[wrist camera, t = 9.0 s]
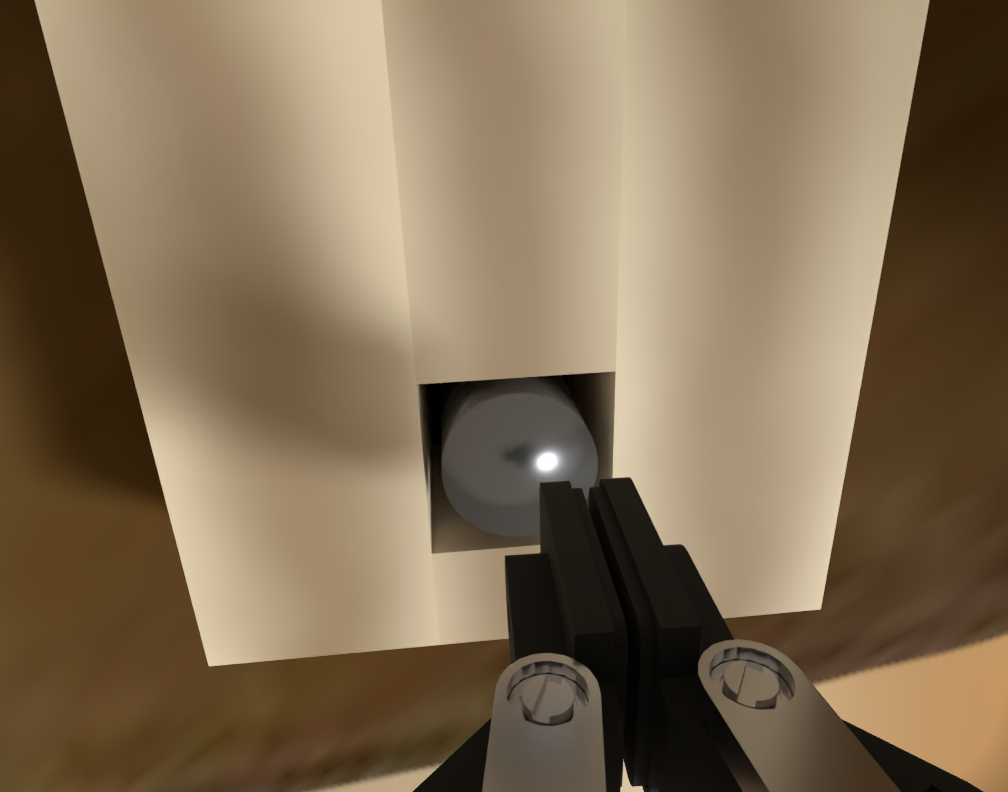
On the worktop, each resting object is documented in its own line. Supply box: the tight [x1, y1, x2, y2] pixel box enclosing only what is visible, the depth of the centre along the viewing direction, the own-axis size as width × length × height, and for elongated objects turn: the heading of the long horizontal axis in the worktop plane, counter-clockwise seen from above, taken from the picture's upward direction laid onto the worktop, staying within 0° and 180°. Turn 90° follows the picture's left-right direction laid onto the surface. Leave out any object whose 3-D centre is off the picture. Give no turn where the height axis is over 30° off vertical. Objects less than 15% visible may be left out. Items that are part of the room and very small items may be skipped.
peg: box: [441, 375, 598, 537], centre depth 18 cm, size 4×4×6 cm
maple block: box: [35, 0, 930, 666], centre depth 16 cm, size 16×22×6 cm
